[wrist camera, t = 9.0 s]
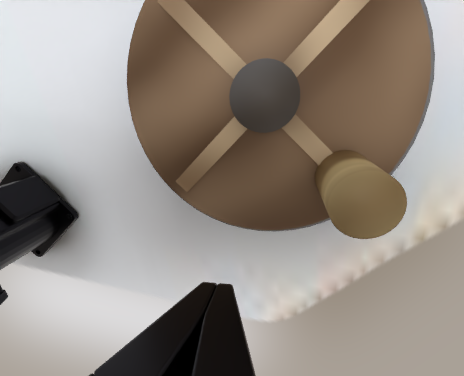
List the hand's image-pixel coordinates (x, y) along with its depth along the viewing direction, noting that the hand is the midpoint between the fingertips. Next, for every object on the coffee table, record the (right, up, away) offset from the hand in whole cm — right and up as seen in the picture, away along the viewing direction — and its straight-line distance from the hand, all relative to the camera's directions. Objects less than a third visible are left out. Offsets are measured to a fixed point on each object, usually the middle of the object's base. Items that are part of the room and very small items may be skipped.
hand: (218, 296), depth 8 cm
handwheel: (+2, +8, +9) cm, 12 cm away
